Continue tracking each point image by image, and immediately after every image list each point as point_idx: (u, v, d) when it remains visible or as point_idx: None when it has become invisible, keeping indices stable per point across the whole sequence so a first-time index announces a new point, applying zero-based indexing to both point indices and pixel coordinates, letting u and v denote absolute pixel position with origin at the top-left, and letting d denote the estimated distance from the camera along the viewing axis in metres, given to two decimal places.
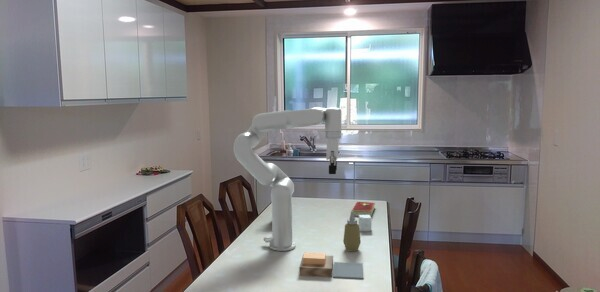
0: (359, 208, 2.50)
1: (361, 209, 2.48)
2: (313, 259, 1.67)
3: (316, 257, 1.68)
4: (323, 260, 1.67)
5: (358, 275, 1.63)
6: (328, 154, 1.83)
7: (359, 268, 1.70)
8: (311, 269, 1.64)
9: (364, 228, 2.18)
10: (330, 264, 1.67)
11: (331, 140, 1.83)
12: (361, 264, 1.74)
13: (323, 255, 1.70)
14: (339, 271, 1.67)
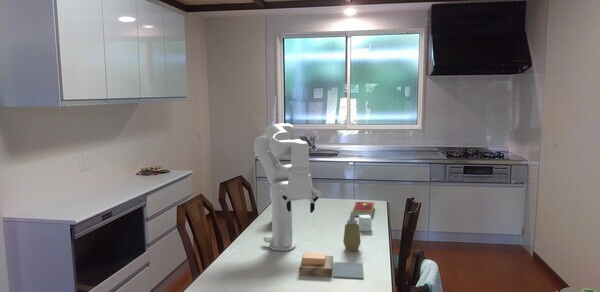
0: (359, 208, 2.49)
1: (362, 209, 2.48)
2: (313, 259, 1.67)
3: (316, 257, 1.68)
4: (323, 260, 1.67)
5: (358, 275, 1.63)
6: (311, 191, 1.68)
7: (359, 268, 1.70)
8: (311, 269, 1.64)
9: (364, 228, 2.18)
10: (330, 264, 1.67)
11: (310, 176, 1.69)
12: (361, 264, 1.74)
13: (323, 255, 1.70)
14: (339, 271, 1.67)
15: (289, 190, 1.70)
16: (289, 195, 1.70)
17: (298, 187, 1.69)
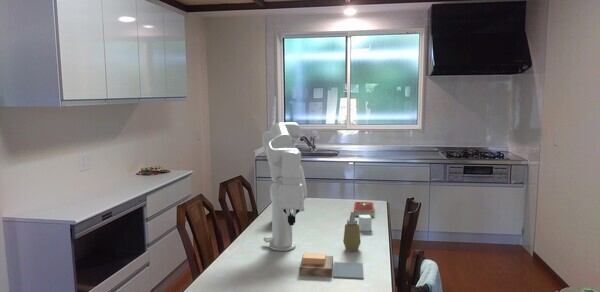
0: (360, 208, 2.49)
1: (363, 209, 2.48)
2: (313, 259, 1.67)
3: (316, 257, 1.68)
4: (323, 260, 1.67)
5: (358, 275, 1.63)
6: (303, 202, 1.66)
7: (359, 268, 1.70)
8: (311, 269, 1.64)
9: (364, 228, 2.18)
10: (330, 264, 1.67)
11: (302, 185, 1.67)
12: (361, 264, 1.74)
13: (323, 255, 1.70)
14: (339, 271, 1.67)
15: (280, 200, 1.66)
16: (280, 205, 1.66)
17: (289, 197, 1.65)
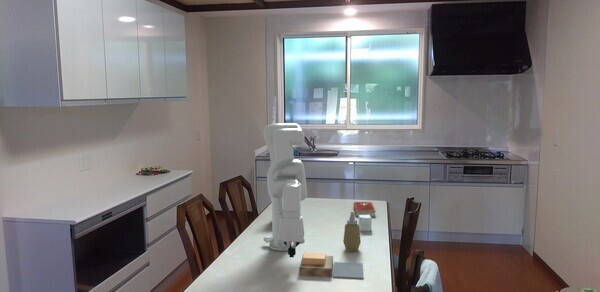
0: (361, 208, 2.49)
1: (364, 209, 2.48)
2: (313, 259, 1.67)
3: (316, 257, 1.68)
4: (323, 260, 1.67)
5: (358, 275, 1.63)
6: (303, 234, 1.68)
7: (359, 268, 1.70)
8: (311, 269, 1.64)
9: (364, 228, 2.18)
10: (330, 264, 1.67)
11: (302, 218, 1.68)
12: (361, 264, 1.74)
13: (323, 255, 1.70)
14: (339, 271, 1.67)
15: (281, 233, 1.68)
16: (281, 238, 1.68)
17: (290, 230, 1.67)
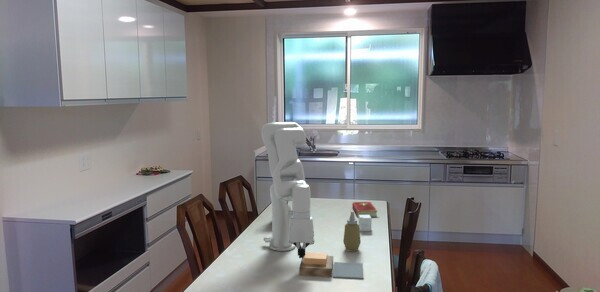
0: (362, 208, 2.49)
1: (365, 209, 2.47)
2: (314, 259, 1.67)
3: (318, 257, 1.68)
4: (324, 260, 1.66)
5: (358, 275, 1.63)
6: (313, 235, 1.67)
7: (359, 268, 1.70)
8: (311, 269, 1.64)
9: (364, 228, 2.18)
10: (330, 264, 1.67)
11: None
12: (361, 264, 1.74)
13: (324, 255, 1.70)
14: (339, 271, 1.67)
15: (290, 234, 1.67)
16: (290, 239, 1.67)
17: (300, 230, 1.67)
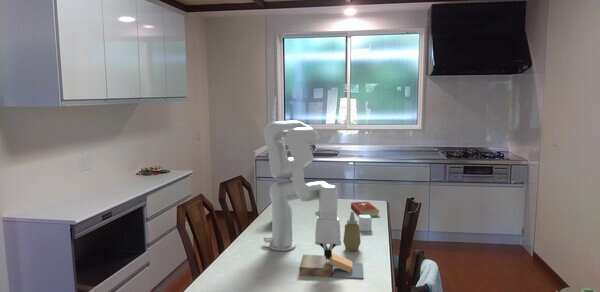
0: (363, 208, 2.49)
1: (367, 209, 2.48)
2: (340, 263, 1.66)
3: (344, 262, 1.67)
4: (350, 268, 1.66)
5: (358, 275, 1.63)
6: (340, 236, 1.66)
7: (359, 268, 1.70)
8: (311, 269, 1.64)
9: (364, 228, 2.18)
10: (330, 264, 1.67)
11: None
12: (361, 264, 1.74)
13: (350, 263, 1.69)
14: (339, 271, 1.67)
15: (317, 235, 1.66)
16: (317, 240, 1.66)
17: (327, 232, 1.65)
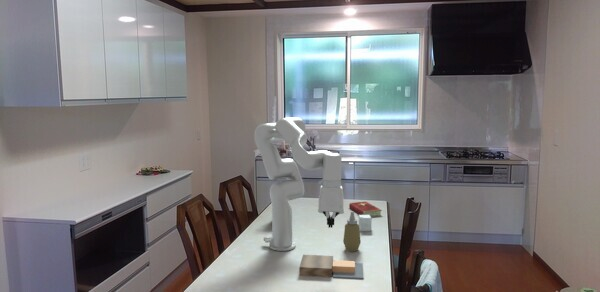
0: (365, 208, 2.48)
1: (369, 209, 2.48)
2: (342, 267, 1.66)
3: (346, 265, 1.67)
4: (353, 268, 1.65)
5: (358, 275, 1.63)
6: (343, 204, 1.66)
7: (359, 268, 1.70)
8: (311, 269, 1.64)
9: (364, 228, 2.18)
10: (330, 264, 1.67)
11: (342, 188, 1.67)
12: (361, 264, 1.74)
13: (352, 263, 1.69)
14: None
15: (321, 203, 1.67)
16: (320, 208, 1.67)
17: (330, 199, 1.66)
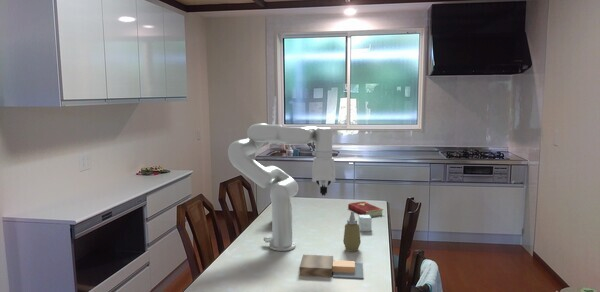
0: (367, 208, 2.48)
1: (370, 208, 2.48)
2: (342, 267, 1.66)
3: (346, 265, 1.67)
4: (353, 268, 1.65)
5: (358, 275, 1.63)
6: (334, 173, 1.82)
7: (359, 268, 1.70)
8: (311, 269, 1.64)
9: (364, 228, 2.18)
10: (330, 264, 1.67)
11: (333, 159, 1.83)
12: (361, 264, 1.74)
13: (352, 263, 1.69)
14: None
15: (314, 172, 1.82)
16: (314, 177, 1.83)
17: (322, 169, 1.82)
